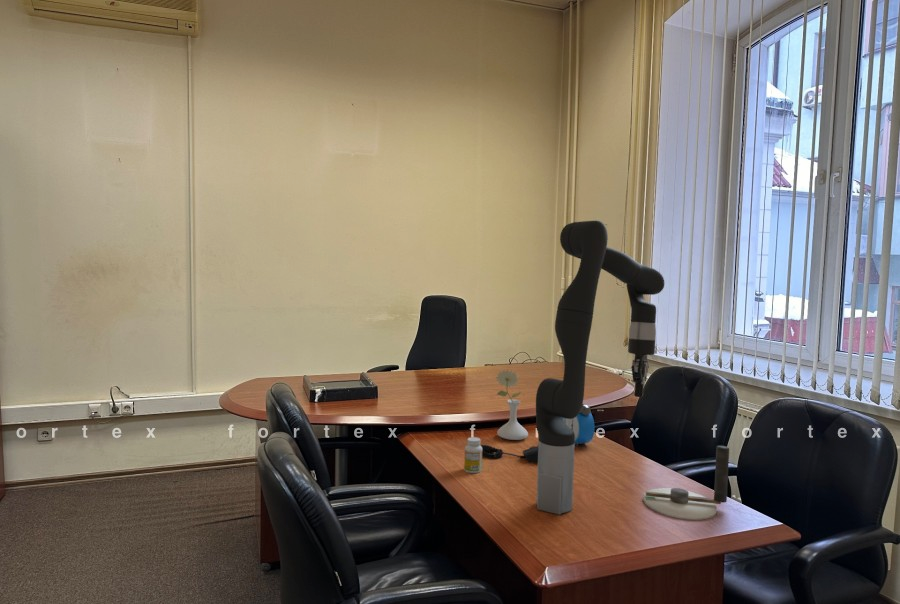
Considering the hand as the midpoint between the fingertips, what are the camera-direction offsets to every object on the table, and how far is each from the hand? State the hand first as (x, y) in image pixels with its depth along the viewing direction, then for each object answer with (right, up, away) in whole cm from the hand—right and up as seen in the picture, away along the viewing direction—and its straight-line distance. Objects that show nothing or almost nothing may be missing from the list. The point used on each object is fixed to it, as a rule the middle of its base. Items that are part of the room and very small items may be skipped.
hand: (638, 396), depth 165 cm
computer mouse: (-33, -24, +19) cm, 45 cm away
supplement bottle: (-49, -24, +6) cm, 55 cm away
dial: (+7, -25, -17) cm, 31 cm away
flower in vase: (-34, -22, +41) cm, 57 cm away
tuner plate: (+5, -26, -16) cm, 31 cm away
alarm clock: (-10, -23, +36) cm, 44 cm away
